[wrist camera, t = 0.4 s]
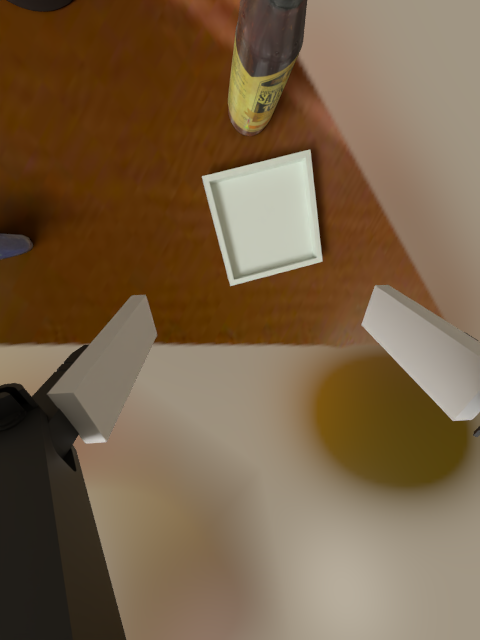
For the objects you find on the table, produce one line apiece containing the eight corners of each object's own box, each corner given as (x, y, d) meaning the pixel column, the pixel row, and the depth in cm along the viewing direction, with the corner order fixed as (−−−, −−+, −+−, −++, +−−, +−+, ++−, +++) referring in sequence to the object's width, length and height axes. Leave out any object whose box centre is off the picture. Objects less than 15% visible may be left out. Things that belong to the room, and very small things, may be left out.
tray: (202, 181, 32) (202, 176, 30) (303, 156, 33) (310, 149, 30) (229, 283, 38) (230, 285, 35) (315, 260, 38) (322, 261, 36)
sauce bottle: (250, 149, 32) (302, 4, 13) (218, 112, 30) (223, -116, 11) (280, 109, 31) (384, -111, 12) (248, 69, 29) (310, -265, 10)
